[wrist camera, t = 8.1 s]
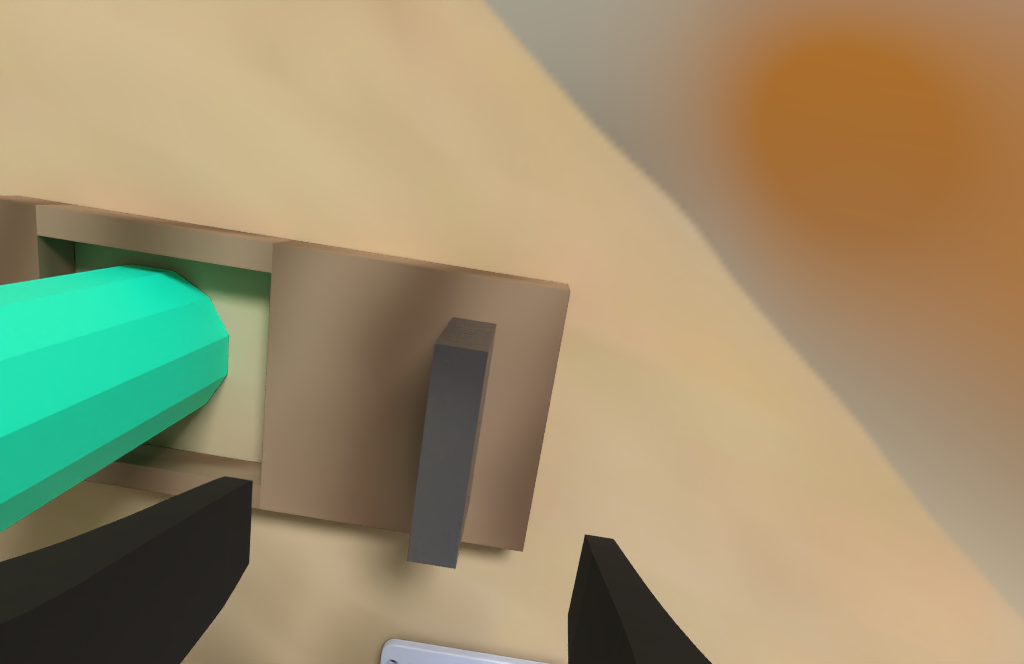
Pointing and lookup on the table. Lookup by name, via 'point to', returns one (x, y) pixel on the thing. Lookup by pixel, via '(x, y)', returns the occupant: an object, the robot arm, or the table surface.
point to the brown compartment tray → (354, 378)
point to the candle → (97, 373)
